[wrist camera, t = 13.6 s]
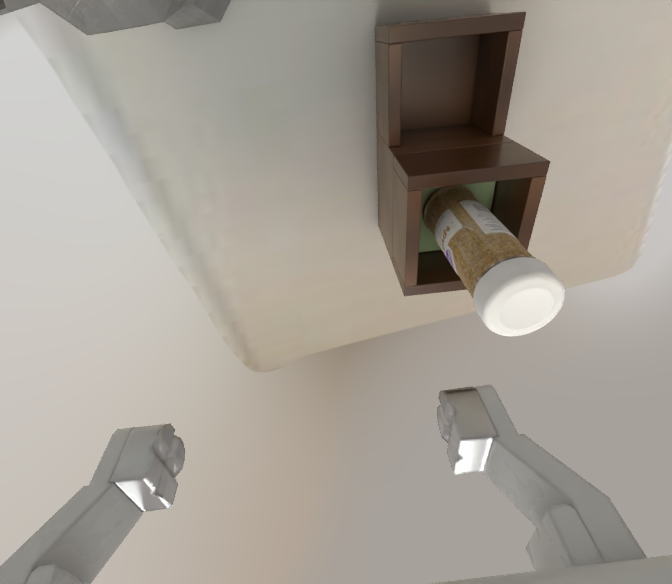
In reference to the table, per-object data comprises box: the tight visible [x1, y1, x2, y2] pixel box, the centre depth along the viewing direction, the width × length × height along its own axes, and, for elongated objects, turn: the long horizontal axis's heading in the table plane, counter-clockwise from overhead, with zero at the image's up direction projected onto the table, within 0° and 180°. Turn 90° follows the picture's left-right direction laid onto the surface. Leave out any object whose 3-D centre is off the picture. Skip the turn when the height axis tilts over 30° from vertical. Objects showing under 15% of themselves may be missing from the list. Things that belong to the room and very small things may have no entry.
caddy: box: [375, 12, 550, 296], centre depth 30 cm, size 18×10×13 cm, turn 5°
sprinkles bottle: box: [423, 185, 565, 336], centre depth 25 cm, size 5×5×14 cm
